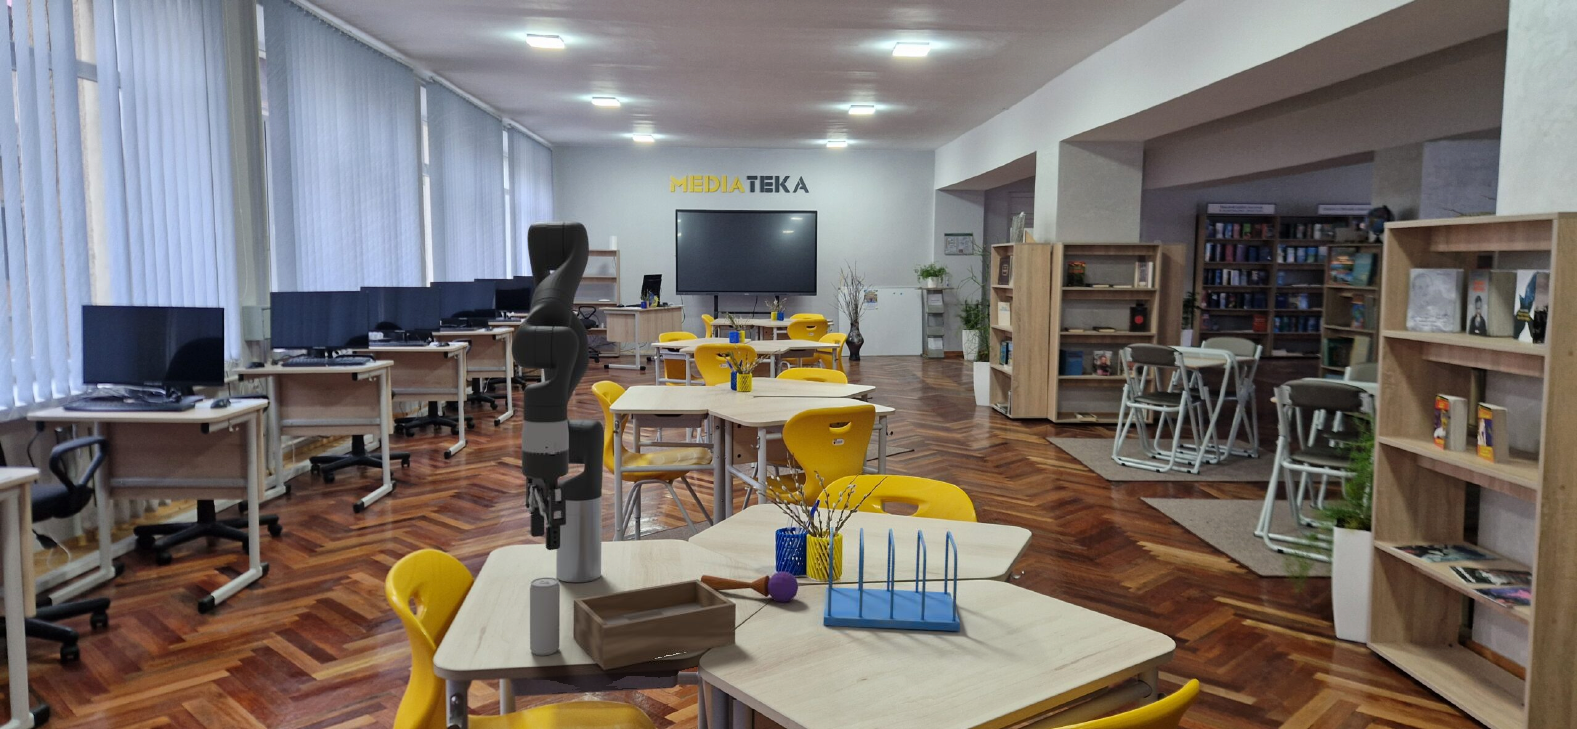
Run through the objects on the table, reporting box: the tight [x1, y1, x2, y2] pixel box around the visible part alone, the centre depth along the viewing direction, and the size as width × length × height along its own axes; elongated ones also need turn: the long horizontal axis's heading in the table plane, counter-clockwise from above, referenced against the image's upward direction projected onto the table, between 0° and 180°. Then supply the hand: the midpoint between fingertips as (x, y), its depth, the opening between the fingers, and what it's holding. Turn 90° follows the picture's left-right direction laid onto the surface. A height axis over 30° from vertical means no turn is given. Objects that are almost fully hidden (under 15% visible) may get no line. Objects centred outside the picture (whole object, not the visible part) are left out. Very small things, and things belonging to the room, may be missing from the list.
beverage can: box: [529, 577, 561, 657], centre depth 157 cm, size 5×5×12 cm
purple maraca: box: [700, 571, 799, 603], centre depth 187 cm, size 6×6×20 cm
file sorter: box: [822, 526, 961, 632], centre depth 180 cm, size 25×17×15 cm
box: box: [572, 578, 737, 671], centre depth 163 cm, size 15×24×7 cm, turn 122°
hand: (545, 542), depth 156 cm, fingers open, 8 cm apart
